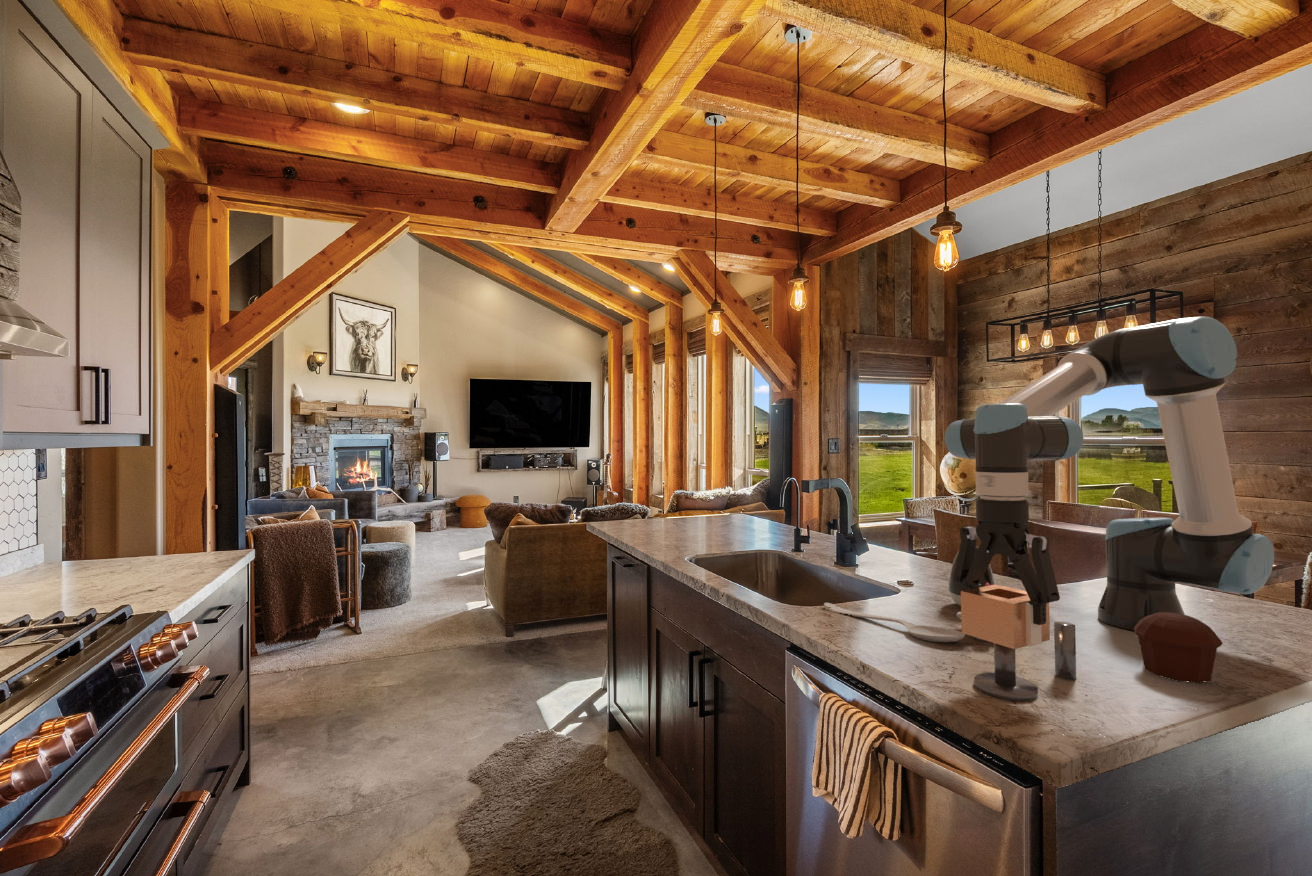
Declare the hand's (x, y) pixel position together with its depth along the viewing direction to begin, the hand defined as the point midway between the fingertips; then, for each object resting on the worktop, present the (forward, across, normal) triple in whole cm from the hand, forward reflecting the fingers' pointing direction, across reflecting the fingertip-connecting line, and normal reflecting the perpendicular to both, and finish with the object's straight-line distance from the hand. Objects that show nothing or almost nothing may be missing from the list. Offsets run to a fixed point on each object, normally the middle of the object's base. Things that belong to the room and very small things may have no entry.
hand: (1003, 634), depth 97 cm
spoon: (+10, -34, +10) cm, 36 cm away
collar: (0, 0, 0) cm, 0 cm away
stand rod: (+9, +2, +14) cm, 17 cm away
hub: (+9, 0, 0) cm, 9 cm away
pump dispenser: (+9, -34, +39) cm, 53 cm away
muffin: (+9, +10, +32) cm, 35 cm away
